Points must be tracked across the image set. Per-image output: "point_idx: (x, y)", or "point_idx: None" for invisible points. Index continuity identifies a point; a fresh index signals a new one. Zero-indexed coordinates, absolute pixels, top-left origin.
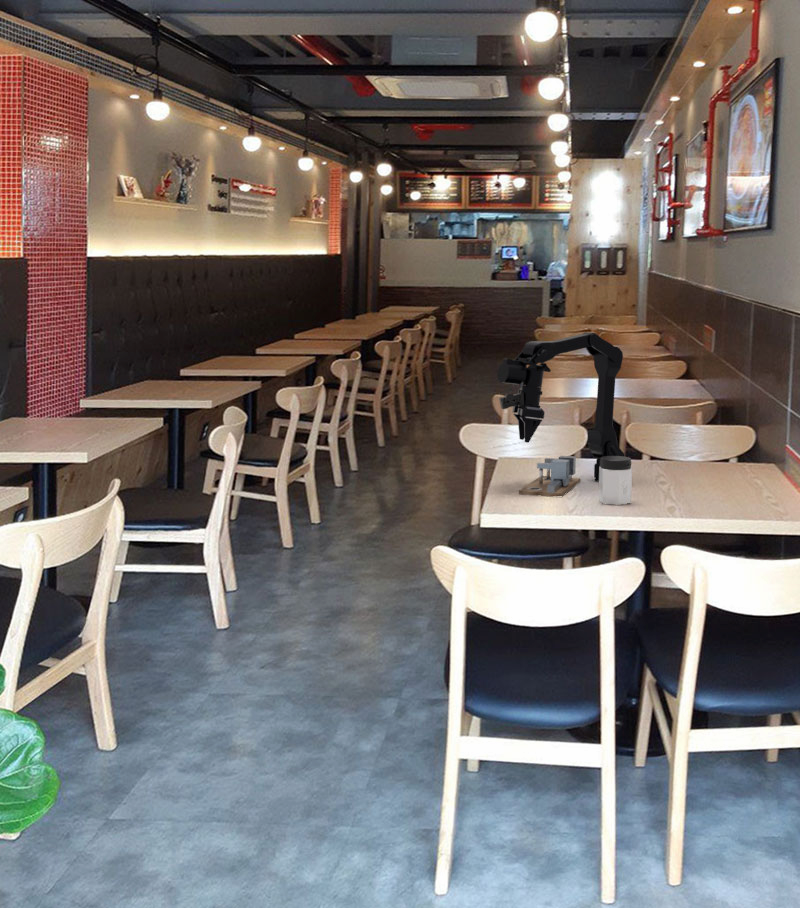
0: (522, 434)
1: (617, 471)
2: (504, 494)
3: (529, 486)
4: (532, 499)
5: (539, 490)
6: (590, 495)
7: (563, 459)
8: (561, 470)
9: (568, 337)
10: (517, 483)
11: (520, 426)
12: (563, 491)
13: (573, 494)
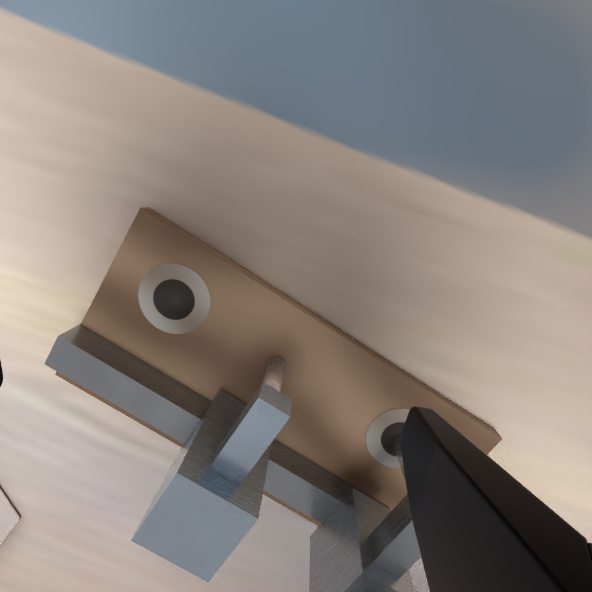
0: (425, 478)
1: None
2: (156, 132)
3: (241, 295)
4: (23, 230)
5: (133, 307)
6: (93, 480)
7: (342, 578)
8: (166, 478)
9: None
10: (427, 292)
11: (522, 582)
12: (99, 398)
13: (119, 431)
